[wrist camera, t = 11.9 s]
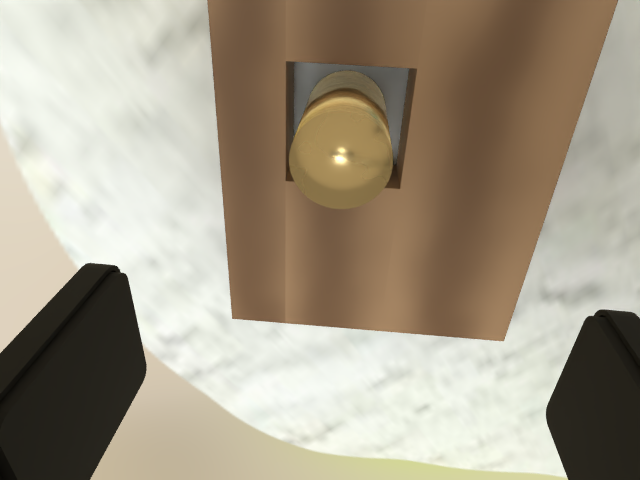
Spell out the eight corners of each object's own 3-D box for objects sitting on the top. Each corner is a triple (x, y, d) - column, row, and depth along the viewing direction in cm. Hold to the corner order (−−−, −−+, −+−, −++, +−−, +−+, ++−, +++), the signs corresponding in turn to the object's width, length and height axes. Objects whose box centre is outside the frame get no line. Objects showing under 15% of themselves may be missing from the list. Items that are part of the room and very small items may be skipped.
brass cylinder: (389, 72, 23) (399, 114, 17) (380, 150, 25) (386, 212, 19) (308, 68, 23) (289, 107, 17) (306, 145, 25) (288, 205, 19)
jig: (588, -13, 20) (621, -9, 18) (491, 307, 30) (503, 341, 27) (224, -31, 21) (205, -29, 18) (243, 288, 30) (232, 318, 28)
